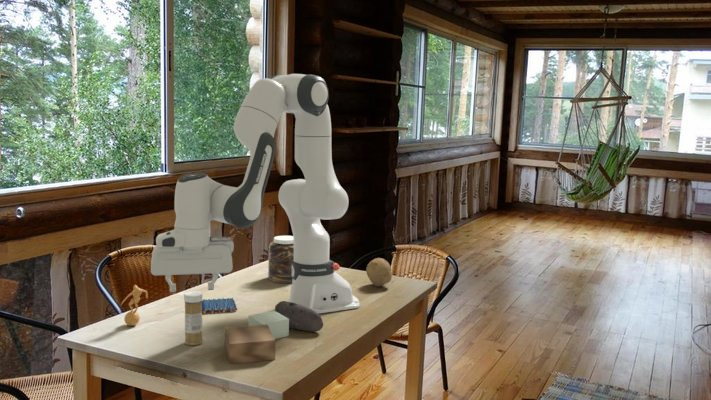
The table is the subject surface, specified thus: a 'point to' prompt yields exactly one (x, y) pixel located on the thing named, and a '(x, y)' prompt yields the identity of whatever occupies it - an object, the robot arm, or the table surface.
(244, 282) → the table surface
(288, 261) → the jar
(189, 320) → the sprinkles bottle
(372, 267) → the natural sponge
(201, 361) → the table surface
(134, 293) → the figurine
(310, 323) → the perforated stone tool
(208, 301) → the woven mat
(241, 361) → the walnut block
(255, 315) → the grey-green block
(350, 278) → the table surface
